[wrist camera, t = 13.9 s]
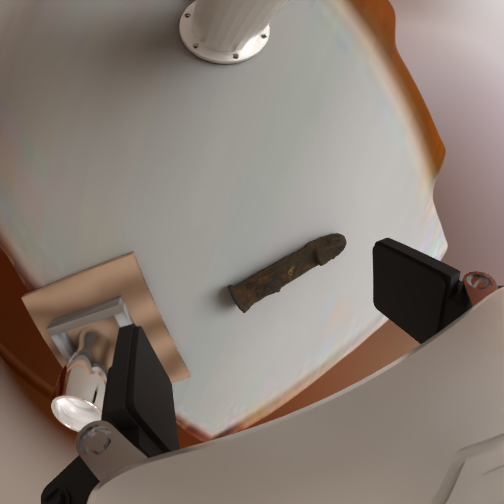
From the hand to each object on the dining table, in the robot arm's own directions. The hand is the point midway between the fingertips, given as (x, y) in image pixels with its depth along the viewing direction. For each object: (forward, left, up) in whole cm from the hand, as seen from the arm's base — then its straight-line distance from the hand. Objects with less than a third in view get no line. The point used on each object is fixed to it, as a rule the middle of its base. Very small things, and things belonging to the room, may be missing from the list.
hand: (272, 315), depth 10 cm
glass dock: (+14, -20, -29) cm, 37 cm away
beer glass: (+13, -21, -28) cm, 37 cm away
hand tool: (+11, +10, -29) cm, 33 cm away
